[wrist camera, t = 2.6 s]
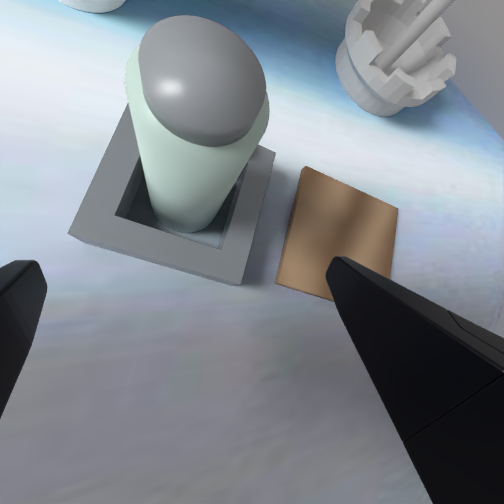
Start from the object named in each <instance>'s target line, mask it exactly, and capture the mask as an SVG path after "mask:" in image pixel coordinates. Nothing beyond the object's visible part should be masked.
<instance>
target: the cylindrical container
mask: <svg viewBox="0 0 504 504" xmlns="http://www.w3.org/2000/svg"><path fill="white" fill-rule="evenodd" d="M58 1H60V2H62V3H63V4H65V5H67V6H70V7H72V8H74V9H77V10H81V11H85V12H92V13H104V12H109V11H113V10H115V9H117V8H119V7H120V6H121V5H123V4H124V2H125V1H126V0H58Z"/></svg>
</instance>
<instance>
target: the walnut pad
mask: <svg viewBox="0 0 504 504" xmlns="http://www.w3.org/2000/svg"><path fill="white" fill-rule="evenodd" d="M397 215H398V208H396V207H394V206H392V205H390V204H387V203H385V202H383V201H381V200H379V199H377V198H374V197H372V196H370V195H368V194H366V193H364V192H361V191H359V190H357V189H355V188H353V187H351V186H349V185H346V184H344V183H342V182H340V181H338V180H336V179H333V178H331V177H329V176H327V175H325V174H323V173H320V172H318V171H316V170H314V169H312V168H310V167H307V166H305V167H304V168H303V169H302V170H301V174H300V178H299V183H298V187H297V191H296V195H295V200H294V204H293V208H292V213H291V217H290V221H289V225H288V230H287V234H286V238H285V242H284V247H283V251H282V255H281V259H280V264H279V268H278V272H277V276H276V281H275V284H278V285H281V286H284V287H288V288H291V289H294V290H297V291H301V292H304V293H307V294H310V295H314V296H317V297H320V298H323V299H327V300H330V301H333V302H334V299H333V297H332V294H331V291H330V289H329V286H328V284H327V281H326V277H325V274H326V271H327V269H328V267H329V265H330V262H331V260H332V259H333V257H335V256H346V257H348V258H350V259H352V260H354V261H356V262H357V263H359V264H361V265H363V266H365V267H367V268H369V269H371V270H373V271H375V272H376V273H378V274H380V275H382V276H384V277H386V278H388V279H390V272H391V264H392V256H393V248H394V240H395V231H396V223H397Z"/></svg>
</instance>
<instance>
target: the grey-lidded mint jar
mask: <svg viewBox="0 0 504 504" xmlns="http://www.w3.org/2000/svg"><path fill="white" fill-rule="evenodd" d="M125 88H126V94H127V99H128V103H129V108H130V112H131V116H132V121H133V125H134V130H135V134H136V139H137V143H138V148H139V152H140V157H141V161H142V166H143V170H144V174H145V179H146V183H147V188H148V192H149V197H150V201H151V206H152V209H153V211H154V214H155V215H156V217H157V218H158V219H159V221H160V222H161V223H162V224H164V225H165V226H166V227H168V228H170V229H172V230H174V231H178V232H183V233H190V232H196V231H199V230H201V229H203V228H205V227H206V226H208V225H209V224H210V223H211V222H212V220H213V219H214V217H215V216H216V214H217V212H218V211H219V209H220V207H221V206H222V204H223V202H224V200H225V199H226V197H227V195H228V194H229V192H230V190H231V189H232V187H233V185H234V184H235V182H236V180H237V178H238V177H239V175H240V173H241V172H242V170H243V168H244V167H245V165H246V163H247V162H248V160H249V158H250V157H251V155H252V153H253V151H254V150H255V148H256V146H257V145H258V143H259V141H260V140H261V138H262V136H263V134H264V133H265V130H266V128H267V125H268V120H269V101H268V96H267V92H266V82H265V77H264V73H263V70H262V67H261V65H260V63H259V61H258V59H257V57H256V56H255V54H254V53H253V51H252V50H251V49H250V47H249V46H248V45H247V44H246V43H245V42H244V41H243V40H242V39H241V38H240V37H239V36H238V35H236V34H235V33H234V32H232V31H231V30H229V29H228V28H226V27H225V26H223V25H221V24H219V23H217V22H214V21H212V20H209V19H206V18H203V17H198V16H190V15H179V16H172V17H168V18H165V19H163V20H161V21H159V22H157V23H155V24H154V25H153V26H152V27H150V29H149V30H148V31H147V32H146V33H145V35H144V37H143V38H142V41H141V43H140V44H139V45H138V46H137V47H136V49H135V50H134V51H133V53H132V54H131V56H130V58H129V60H128V63H127V66H126V71H125Z"/></svg>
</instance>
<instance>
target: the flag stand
mask: <svg viewBox="0 0 504 504" xmlns="http://www.w3.org/2000/svg"><path fill="white" fill-rule="evenodd" d="M454 1H455V0H432V1H431V3H430V4H429V5H428V6H427V7H426V8H425V9H424V10H423V12H422V13H421V14H420V13H419V12H418V11H419V10H420V9H421V8H422V6H423V5H424V4H425V2H426V0H358V1H357V3H356V4H355V6H354V7H353V9H352V10H351V12H350V14H349V16H348V18H347V21H346V27H345V36H346V37H345V38H344V39H343V41H342V42H341V44H340V45H339V47H338V49H337V52H336V58H335V63H336V70H337V74H338V78H339V80H340V82H341V85H342V86H343V88H344V90H345V91H346V93H347V94H348V95H349V97H350V98H351V99H352V100H353V101H354V102H355V103H356V104H357V105H358V106H359V107H361V108H362V109H363V110H365V111H366V112H369V113H371V114H373V115H376V116H380V117H388V116H392V115H394V114H396V113H398V112H399V111H400V110H401V109H403V108H404V107H415V106H419V105H421V104H423V103H425V102H426V101H428V100H429V99H430V98H432V97H433V96H434V95H436V94H437V93H438V92H440V91H441V90H442V89H444V88H445V87H446V85H445V83H444V82H445V81H446V80H447V79H449V78H450V77H451V76H453V75H454V74H455V68H456V57H455V56H453V55H451V54H448V55H447V56H446V57H444V56H443V52H442V49H441V46H442V45H443V44H444V43H445V42H446V41H447V40H448V39H449V38H451V35H450V33H449V31H448V29H447V27H446V25H445V23H444V21H443V19H442V18H441V17H440V18H439V19H437V18H438V17H439V16H440V15H441V14H442V13H443V12H444V11H445V10H446V9H447V8H448V7H449V6H450V5H451V4H452V3H453V2H454ZM436 19H437V20H436ZM435 20H436V21H435ZM434 21H435V22H434ZM433 22H434V23H433ZM432 23H433V24H432ZM431 24H432V25H431Z"/></svg>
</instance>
